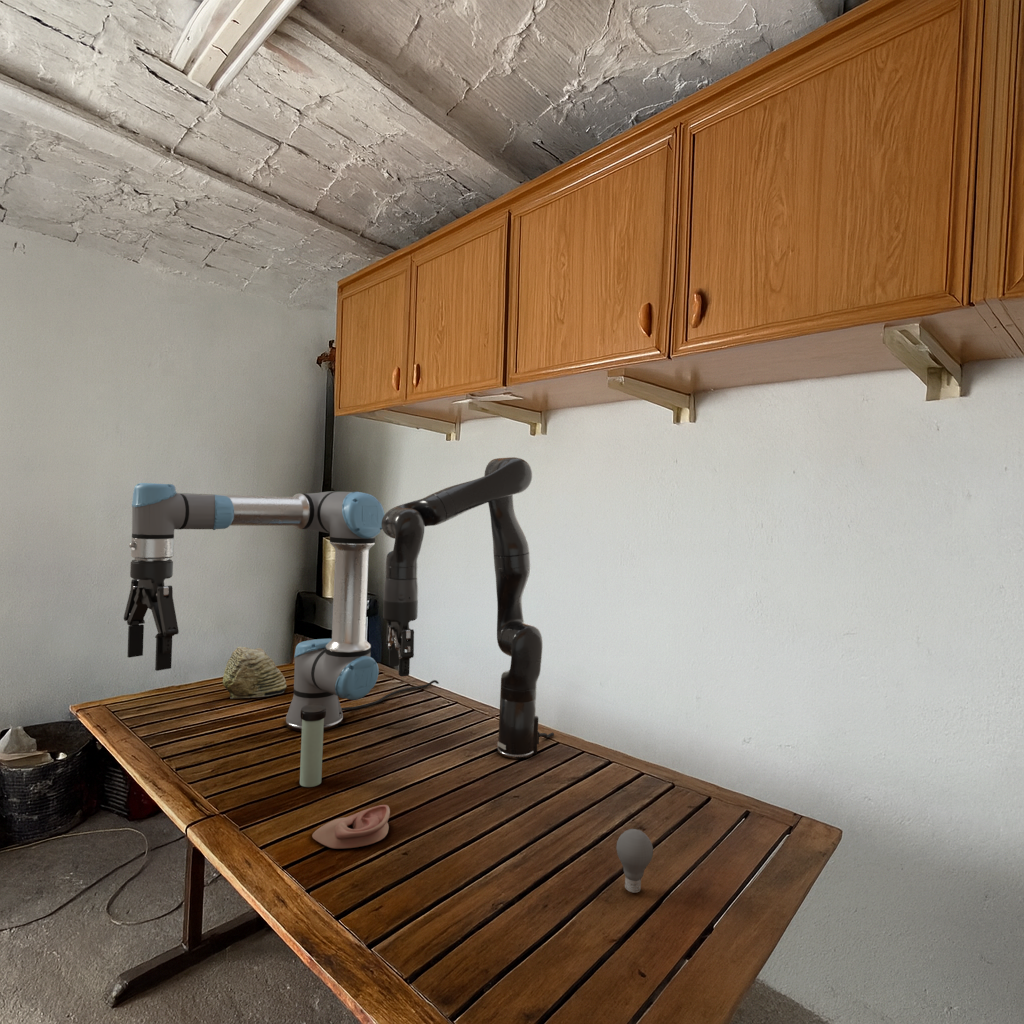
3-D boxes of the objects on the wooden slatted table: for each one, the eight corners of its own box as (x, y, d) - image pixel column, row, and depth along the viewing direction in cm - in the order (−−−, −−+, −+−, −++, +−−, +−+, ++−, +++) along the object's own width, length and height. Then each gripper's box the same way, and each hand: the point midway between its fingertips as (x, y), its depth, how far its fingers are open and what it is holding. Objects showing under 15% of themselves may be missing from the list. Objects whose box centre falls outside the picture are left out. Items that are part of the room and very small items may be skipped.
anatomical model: (304, 822, 115) (334, 794, 126) (303, 844, 115) (333, 813, 126) (372, 833, 112) (397, 803, 124) (371, 855, 113) (396, 823, 124)
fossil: (218, 695, 195) (220, 647, 195) (278, 685, 208) (279, 640, 207) (228, 703, 189) (230, 653, 188) (289, 692, 201) (290, 645, 201)
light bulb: (610, 879, 108) (613, 822, 108) (644, 879, 109) (647, 822, 109) (619, 902, 102) (622, 840, 102) (655, 901, 103) (658, 840, 103)
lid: (317, 722, 137) (318, 713, 137) (295, 719, 138) (295, 710, 138) (330, 714, 142) (330, 706, 142) (308, 711, 143) (308, 703, 143)
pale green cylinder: (314, 788, 137) (317, 714, 137) (295, 785, 138) (298, 712, 138) (325, 779, 142) (328, 708, 142) (306, 776, 143) (309, 705, 143)
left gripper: (108, 554, 134) (104, 654, 134) (159, 565, 118) (155, 678, 119) (146, 552, 140) (143, 648, 140) (199, 563, 124) (195, 671, 124)
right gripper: (426, 602, 135) (424, 677, 136) (408, 592, 148) (406, 661, 149) (392, 604, 132) (389, 681, 133) (376, 593, 145) (374, 663, 145)
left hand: (148, 662), depth 129 cm, fingers open, 13 cm apart
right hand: (398, 670), depth 141 cm, fingers open, 8 cm apart
